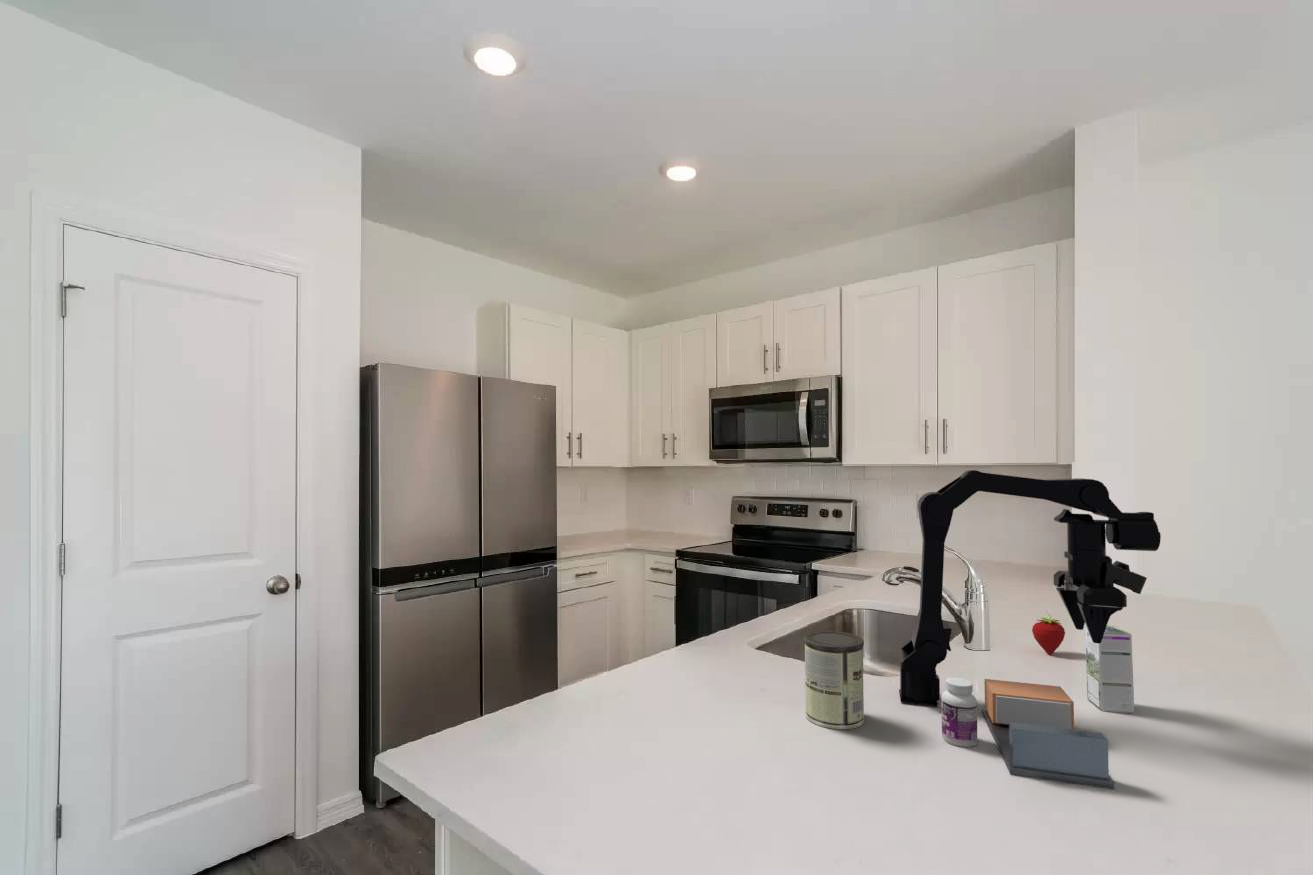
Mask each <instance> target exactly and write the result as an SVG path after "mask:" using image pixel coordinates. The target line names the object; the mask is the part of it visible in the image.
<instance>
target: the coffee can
mask: <svg viewBox="0 0 1313 875" xmlns="http://www.w3.org/2000/svg"><path fill="white" fill-rule="evenodd" d="M803 641H804V685H805V687H804V688H805V689H804V690H805V691H804V692H805V693H804V696H805V712H804V715H805V718H806V719H807V720H808V721H809V722H811V723H812V724H814V725H816V726H819V727H822V728H825V729H832V730H852V729H856V728H859V727H861V726H862V725H863V724H864V723H865V718H864V717H865V714H864V712H865V710H864V709H865V707H864V705H865V702H864V699H865V698H864V645H865V642H864V639H863V638H862V637H860V636H858V635H856V634H854V633H850V632H845V631H837V630H817V631H812V632H808V633H806V634H804V636H803Z"/></svg>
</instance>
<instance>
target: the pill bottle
mask: <svg viewBox="0 0 1313 875" xmlns="http://www.w3.org/2000/svg"><path fill="white" fill-rule="evenodd" d="M973 685H974V684H973V682H971V681H970V680H967V679H965V678H961V677H948V678H946V679H945V688H946V690H945V691H943V692H942V694H941V696H940V700H941V703H940V704H941V736H942V738H943V740H944V741H945V742H947V743H948V744H951V745H953V746H957V747H962V748H971V747H974V746H975V745H977V744H978V699H977V698H976V697H975V695H974V694H972V693H973V690H974V689H973V688H974V687H973Z"/></svg>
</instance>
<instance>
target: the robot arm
mask: <svg viewBox="0 0 1313 875" xmlns="http://www.w3.org/2000/svg"><path fill="white" fill-rule="evenodd" d="M977 492H984V493H991V494H999V495H1007V496H1015V497H1022V498H1023V497H1024V498H1033V499H1038V500H1044V501H1048V502H1053V503H1055V504H1058V505H1061V506H1066V507H1069V508H1072V509H1077V510H1081V511H1084V512H1089V513H1072V512H1071V510H1069V509H1066V508H1063V510H1062V511H1061V512H1060V513H1059V514H1058V515H1056V516H1055V517H1054V518H1053V521H1055V522H1056V523H1057V522H1058V523H1061V524H1062V523H1063V524H1067V528H1066V529H1067V532H1066V533H1067V539H1066V540H1067V551H1065V550H1064V551H1063V554H1064V555H1063V557H1064V558H1066V559H1067V570H1057V572H1055V573H1054V574H1053V585H1054V586H1055V589H1056V591H1057V592H1058V595H1059V596H1060V599H1061V601H1062V602H1063V605H1064V606H1065V608H1066V611H1067V613H1068V615H1069V617H1070V619H1071V621H1072V623H1073V626H1074V627H1075V629H1076V630H1079V631H1083V630H1084V627H1085V626H1087V629H1088V631H1089V634H1090V636H1091V639H1092V641H1093V642H1094V643H1101V641H1102V638H1103V635H1104V632H1105V629H1106V626H1107V625H1108V623H1109V621H1110V619H1111V616H1112V615H1114V614H1115V613H1116V612H1118V611H1122V610H1123V609H1124V608H1127V606H1128V604H1127V599H1128V598H1127V595H1126V594H1125V593H1124V592H1123V590H1121V589H1119V588H1118V587H1116V586H1114V585H1117V586H1120V587H1122V588H1125V589H1128V590H1130V591H1132V592H1133V593H1135V594H1138V595H1141V593H1142V591H1143V588H1144V586H1145V583H1146V581H1147V579H1148V577H1146V576H1145V575H1141V574H1139V573H1138V572H1137V573H1136V572H1134V571H1131V570H1130V565H1129V564H1128V563H1124V562H1121V561H1119V560H1116V561H1115V562H1113V559H1112V558H1111V556H1109V555H1107V551H1106V550H1107V549H1106V546H1107V545H1106V543H1108V544H1111V545H1113V548H1114V549H1115V550H1117V551H1121V550H1122V551H1137V552H1138V551H1143V552H1156V551H1158V549H1159V547H1160V546H1161V537H1162V536H1161V532H1160V531H1159V527H1158V523H1157V521H1156V520H1155V517H1154V516H1155V513H1154V512H1150V511H1138V512H1125V511H1123V512H1122V511H1121V509H1119V508H1118V506H1117V505H1116V504H1115V503H1114V502H1113V501H1112V500H1111V498H1110V492H1109V490H1108V487H1106V486H1105V484H1104V483H1103V482H1102V481H1099V480H1096V479H1093V478H1082V477H1081V478H1080V477H1079V478H1058V479H1057V478H1056V479H1055V478H1054V479H1053V478H1052V479H1041V478H1039V479H1038V478H1032V477H1031V478H1030V477H1023V476H1015V475H1014V476H1013V475H1005V474H999V473H998V474H997V473H991V472H990V473H989V472H984V471H983V472H982V471H980V470H975V469H969V470H965V471H963V473H962V474H961V475H960V476H959V477H957V478H956V479H954V480H952V481H951V482H949V483H947V484H945V485H944V486H943V487H942V488H940V489H938V490H937V491H930V492H929V491H928V492H927V493H924V494H923V495H921V496H920V498H918V502H917V512H918V513H917V514H918V519H919V525H920V529H921V530H920V531H921V536H922V551H921V570H920V574H921V575H920V593H919V610H918V612H917V616H916V619H915V622H914V627H913V630H912V635H911V639H910V640H909V641H907V643H905V644H904V645H903V646H902V647H901V648H900V655H901V660H902V662H900V663H899V690H898V693H899V700H900V703H902V704H908V705H909V704H910V705H919V706H927V707H934V708H935V707H936V708H937V707H938V706H939V703H938V702H939V701H940V700H941V696H940V695H941V694H940V692H941V691H940V690H941V688H940V687H941V686H940V682H941V681H940V679H941V678H940V676H939V674H937V670H936V668H937V665H939V664H941V663H942V662H944V661H945V660H946V658H947V654H948V652H952V648H951V646H950V645H951V643H950V641H951V640H950V639H951V635H952V628H951V625H950V624H949V622H948V621H946V620H945V621H943V616H942V606H943V582H944V580H943V578H944V559H945V558H944V557H945V543H946V540H947V539H946V538H947V536H948V533H949V531H950V527H951V523H952V518H953V515H954V510H955V509H957V508H958V507H960V506H961V505H963V504H964V503H965V502H966V501H968V499H969V498H971V497H972V496H973V495H975V494H976V493H977ZM1090 513H1092V514H1094V515H1096V516H1100V517H1104V518H1107V519H1094V517H1093V516H1092V514H1090Z"/></svg>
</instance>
